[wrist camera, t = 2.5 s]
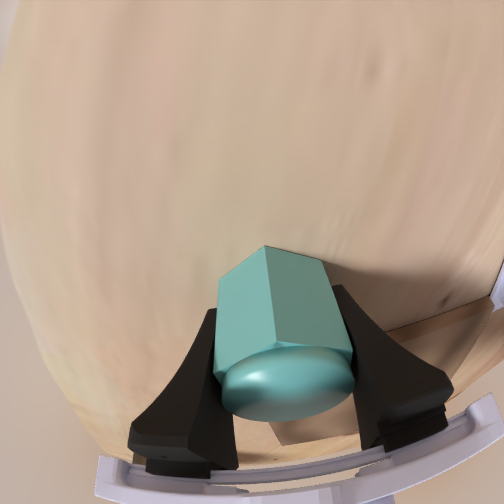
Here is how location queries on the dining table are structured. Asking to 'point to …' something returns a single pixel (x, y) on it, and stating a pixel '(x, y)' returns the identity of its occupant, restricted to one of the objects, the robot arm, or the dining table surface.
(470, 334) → the brown flat square slab
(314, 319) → the cap
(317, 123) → the dining table surface
